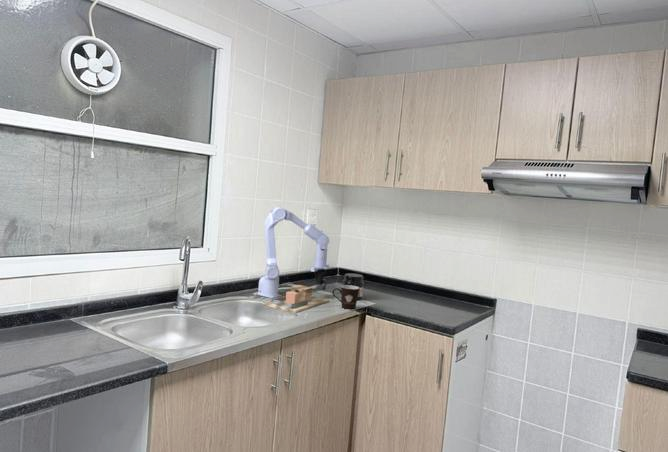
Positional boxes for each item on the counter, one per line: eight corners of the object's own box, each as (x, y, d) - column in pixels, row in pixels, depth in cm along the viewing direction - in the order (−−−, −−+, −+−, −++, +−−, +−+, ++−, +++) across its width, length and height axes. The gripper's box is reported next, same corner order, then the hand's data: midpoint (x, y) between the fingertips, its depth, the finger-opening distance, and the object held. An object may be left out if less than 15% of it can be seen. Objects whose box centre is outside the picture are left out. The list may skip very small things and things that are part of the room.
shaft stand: (264, 305, 211) (265, 289, 210) (300, 295, 236) (301, 280, 235) (295, 312, 203) (296, 295, 202) (328, 301, 228) (330, 286, 227)
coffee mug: (360, 308, 219) (362, 287, 219) (352, 311, 212) (353, 290, 211) (339, 303, 225) (341, 283, 225) (330, 306, 218) (332, 285, 217)
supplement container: (365, 300, 236) (367, 277, 236) (346, 300, 233) (348, 277, 232) (357, 295, 246) (359, 273, 245) (338, 295, 242) (340, 273, 241)
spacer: (289, 301, 217) (285, 302, 215) (290, 291, 217) (286, 292, 214) (298, 303, 215) (294, 304, 212) (299, 293, 214) (295, 294, 212)
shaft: (295, 293, 221) (296, 283, 221) (317, 287, 238) (317, 278, 238) (304, 295, 219) (305, 285, 219) (325, 289, 236) (326, 279, 235)
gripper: (320, 259, 225) (318, 287, 226) (335, 257, 238) (332, 283, 239) (308, 257, 229) (305, 285, 230) (323, 255, 241) (321, 281, 242)
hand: (318, 284), depth 234 cm, fingers closed
